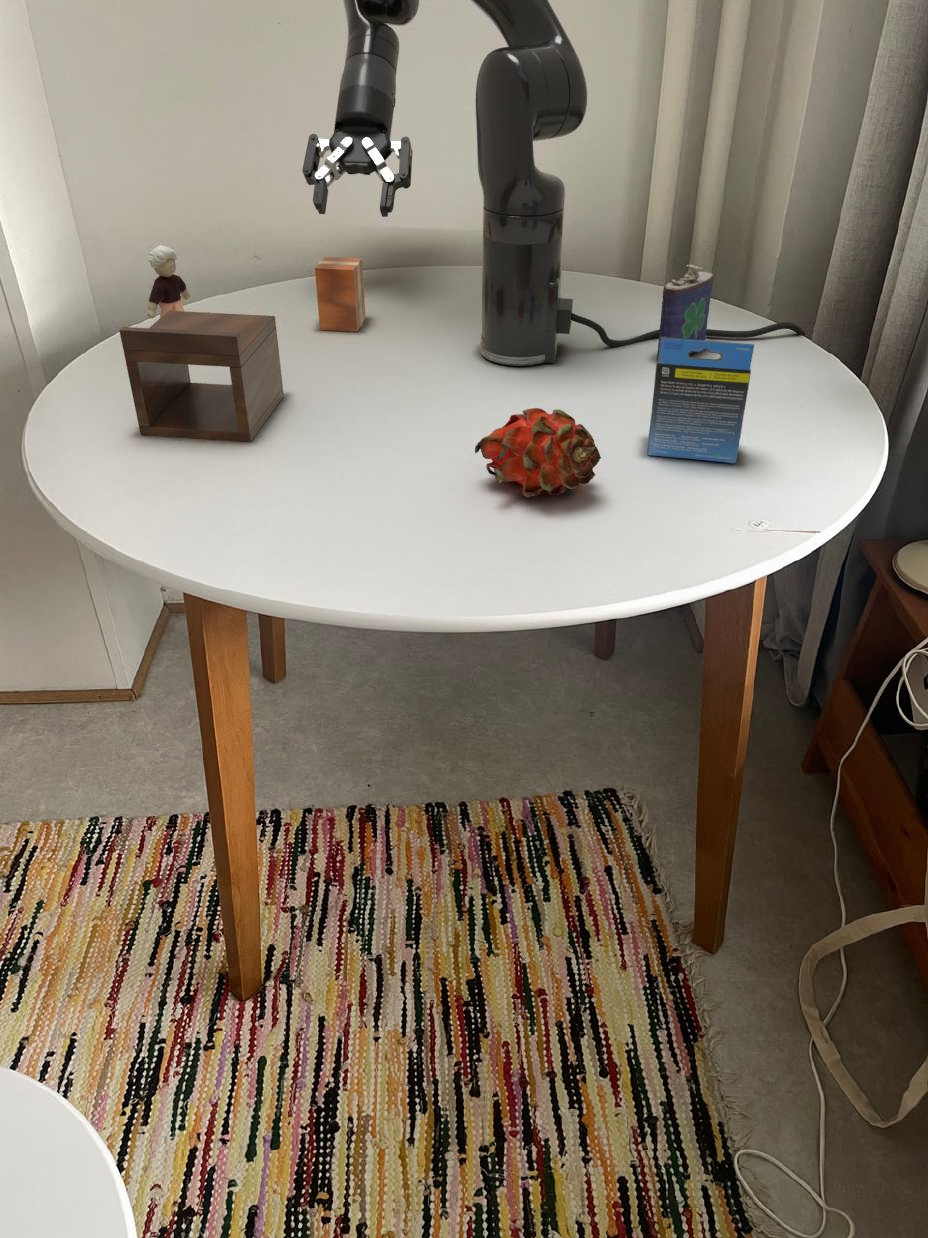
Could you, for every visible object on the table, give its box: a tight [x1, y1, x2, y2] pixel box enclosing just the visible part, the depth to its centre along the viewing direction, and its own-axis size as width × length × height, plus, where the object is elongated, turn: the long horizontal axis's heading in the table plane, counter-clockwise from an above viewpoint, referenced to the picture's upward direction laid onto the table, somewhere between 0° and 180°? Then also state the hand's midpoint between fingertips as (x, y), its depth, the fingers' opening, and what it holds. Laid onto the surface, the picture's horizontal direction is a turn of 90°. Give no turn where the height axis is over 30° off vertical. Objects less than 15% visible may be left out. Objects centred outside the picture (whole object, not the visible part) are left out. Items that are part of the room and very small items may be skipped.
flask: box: [656, 264, 715, 363], centre depth 121 cm, size 9×3×11 cm, turn 138°
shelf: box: [118, 310, 285, 443], centre depth 105 cm, size 12×12×11 cm
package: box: [314, 256, 366, 333], centre depth 130 cm, size 5×5×8 cm
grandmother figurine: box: [146, 244, 191, 319], centre depth 121 cm, size 8×4×13 cm, turn 168°
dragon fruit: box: [473, 407, 602, 499], centre depth 93 cm, size 8×8×12 cm
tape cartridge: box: [646, 337, 755, 464], centre depth 98 cm, size 9×4×12 cm, turn 77°
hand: (352, 212), depth 132 cm, fingers open, 8 cm apart
